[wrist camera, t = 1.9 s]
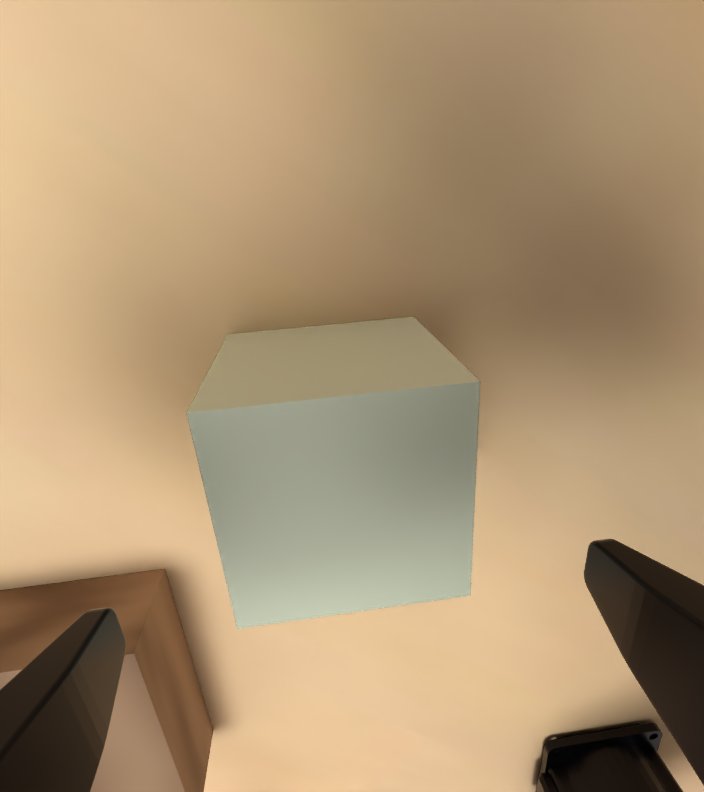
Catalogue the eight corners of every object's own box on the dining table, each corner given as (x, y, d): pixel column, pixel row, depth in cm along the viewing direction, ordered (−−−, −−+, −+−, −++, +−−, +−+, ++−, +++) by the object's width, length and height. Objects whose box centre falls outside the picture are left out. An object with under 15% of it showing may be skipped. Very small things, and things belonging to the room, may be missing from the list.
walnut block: (167, 562, 18) (134, 653, 14) (214, 722, 22) (197, 826, 18) (-103, 597, 17) (-210, 703, 14) (-4, 757, 21) (-66, 872, 18)
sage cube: (412, 315, 15) (480, 381, 9) (415, 471, 17) (470, 595, 12) (228, 333, 15) (186, 412, 9) (256, 490, 17) (237, 628, 11)
